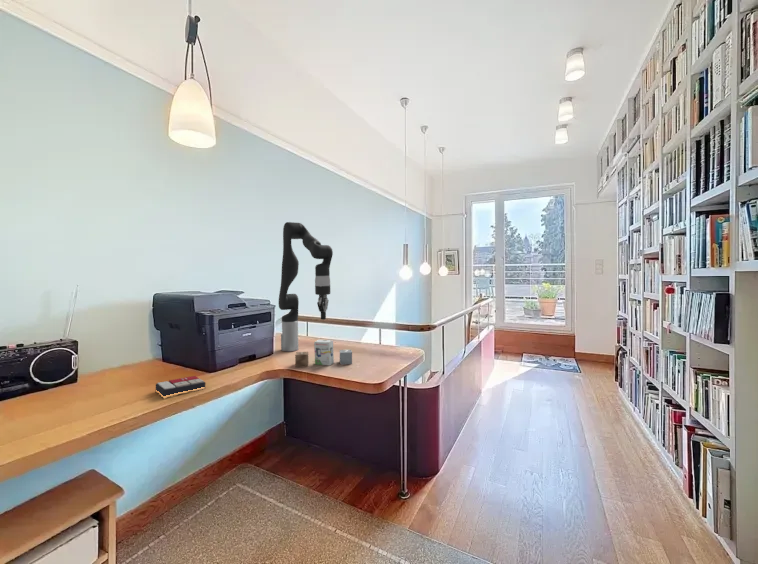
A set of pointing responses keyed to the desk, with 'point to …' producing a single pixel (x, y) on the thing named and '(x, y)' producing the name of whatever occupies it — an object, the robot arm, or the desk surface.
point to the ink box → (324, 352)
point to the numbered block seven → (345, 357)
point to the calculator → (179, 385)
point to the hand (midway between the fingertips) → (323, 319)
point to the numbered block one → (301, 359)
